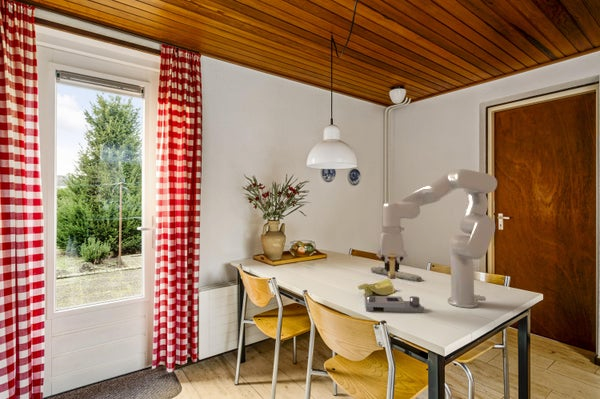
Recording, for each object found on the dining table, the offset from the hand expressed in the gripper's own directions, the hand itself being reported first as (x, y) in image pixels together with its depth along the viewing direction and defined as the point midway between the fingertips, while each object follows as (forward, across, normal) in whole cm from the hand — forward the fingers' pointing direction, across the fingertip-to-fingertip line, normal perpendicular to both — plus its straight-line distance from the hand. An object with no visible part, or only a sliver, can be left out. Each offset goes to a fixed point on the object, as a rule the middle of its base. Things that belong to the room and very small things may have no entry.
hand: (391, 270), depth 144 cm
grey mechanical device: (+17, 0, 0) cm, 17 cm away
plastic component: (+17, +5, -22) cm, 29 cm away
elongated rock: (+17, -11, -59) cm, 62 cm away
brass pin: (+3, 0, 0) cm, 3 cm away
